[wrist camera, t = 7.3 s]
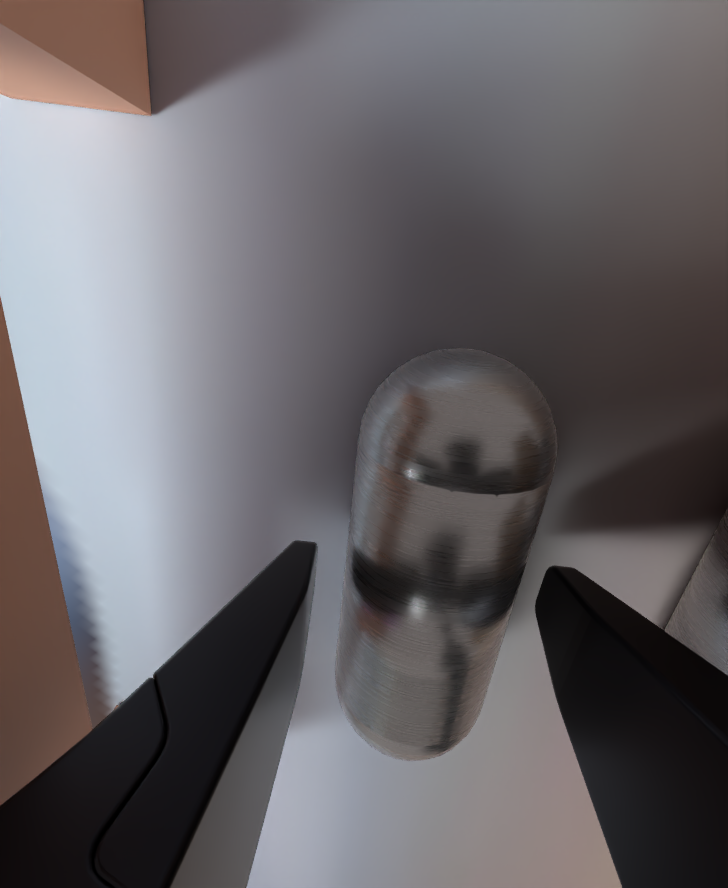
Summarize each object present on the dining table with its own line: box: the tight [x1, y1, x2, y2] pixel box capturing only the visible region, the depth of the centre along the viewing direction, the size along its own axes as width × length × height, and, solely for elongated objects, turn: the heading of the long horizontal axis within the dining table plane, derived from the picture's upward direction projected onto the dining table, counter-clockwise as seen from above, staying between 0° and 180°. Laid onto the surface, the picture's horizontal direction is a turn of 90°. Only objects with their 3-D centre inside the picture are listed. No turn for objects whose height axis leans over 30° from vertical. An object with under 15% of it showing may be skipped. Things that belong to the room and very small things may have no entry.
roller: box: [335, 348, 558, 761], centre depth 8 cm, size 8×3×3 cm, turn 174°
